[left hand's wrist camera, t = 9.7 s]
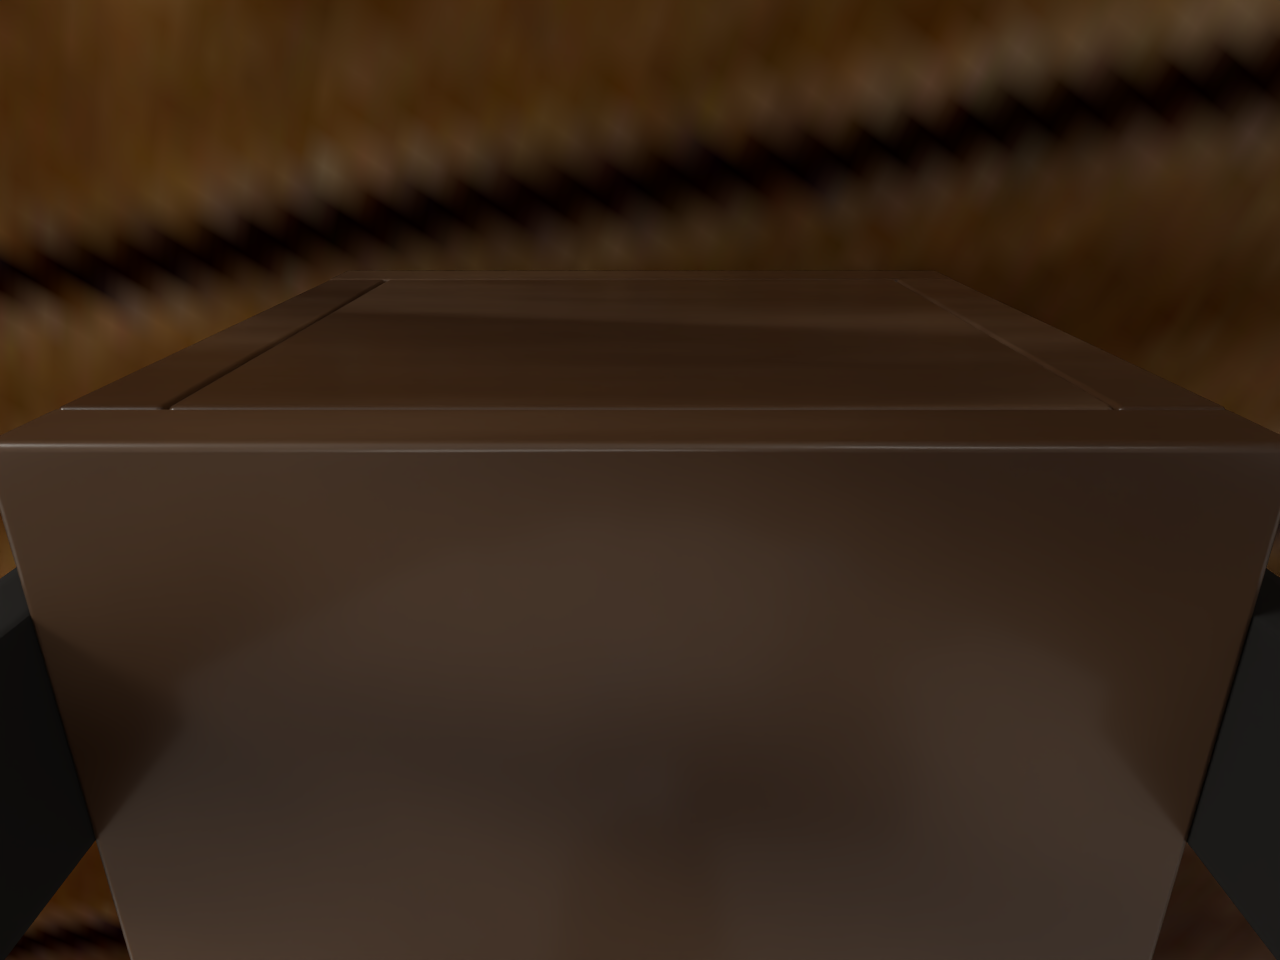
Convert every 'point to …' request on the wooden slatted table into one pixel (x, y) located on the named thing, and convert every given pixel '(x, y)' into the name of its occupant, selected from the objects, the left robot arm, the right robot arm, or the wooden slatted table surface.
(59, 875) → the left robot arm
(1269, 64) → the wooden slatted table surface
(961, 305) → the cabinet
